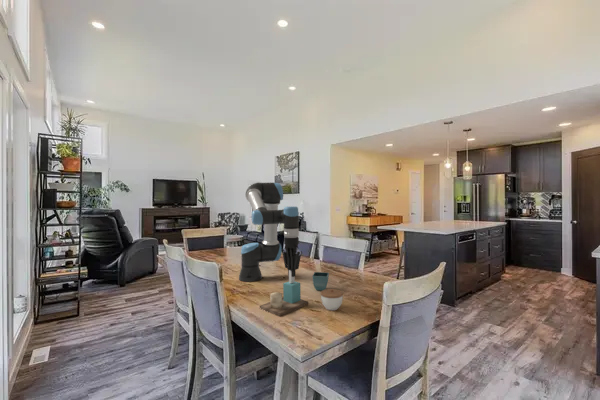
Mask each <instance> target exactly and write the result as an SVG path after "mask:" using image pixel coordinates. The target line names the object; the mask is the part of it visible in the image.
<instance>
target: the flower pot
mask: <svg viewBox="0 0 600 400" xmlns="http://www.w3.org/2000/svg"><path fill="white" fill-rule="evenodd" d="M329 274H330V273H329V272H324V271H323V272H319V271H314V272H313V274H312V276H311V277H312V284H313V287H314V289H315V290H316V291H323V290H326V289H327V285H328V283H329V276H330V275H329Z"/></svg>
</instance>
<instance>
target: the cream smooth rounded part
mask: <svg viewBox="0 0 600 400" xmlns="http://www.w3.org/2000/svg"><path fill="white" fill-rule="evenodd" d="M282 297H283V293H281V292H272V293H270V298H269V299H270V301H269V302H270V304H271V308H273V309H279V308H281V307H282Z"/></svg>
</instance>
